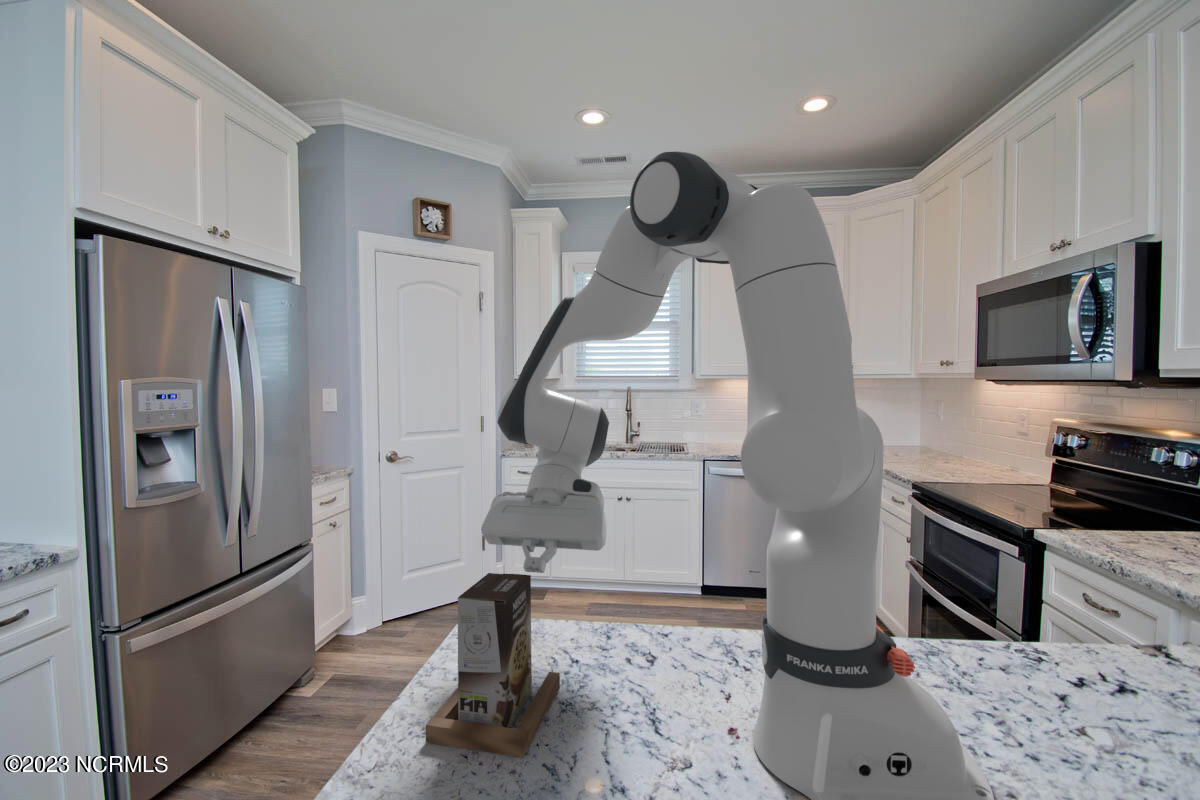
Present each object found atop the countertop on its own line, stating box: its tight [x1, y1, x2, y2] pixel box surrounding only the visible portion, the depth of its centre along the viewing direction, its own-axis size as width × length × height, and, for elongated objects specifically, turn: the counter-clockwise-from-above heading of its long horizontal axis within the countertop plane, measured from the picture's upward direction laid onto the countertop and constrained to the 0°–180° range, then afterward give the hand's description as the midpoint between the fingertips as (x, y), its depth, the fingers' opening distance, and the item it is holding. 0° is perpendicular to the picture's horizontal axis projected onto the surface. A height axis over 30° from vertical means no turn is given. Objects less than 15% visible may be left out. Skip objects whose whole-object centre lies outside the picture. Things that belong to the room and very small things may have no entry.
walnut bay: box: [425, 671, 561, 758], centre depth 63 cm, size 12×14×2 cm
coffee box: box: [457, 572, 533, 728], centre depth 63 cm, size 9×6×16 cm
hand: (533, 570), depth 76 cm, fingers closed
